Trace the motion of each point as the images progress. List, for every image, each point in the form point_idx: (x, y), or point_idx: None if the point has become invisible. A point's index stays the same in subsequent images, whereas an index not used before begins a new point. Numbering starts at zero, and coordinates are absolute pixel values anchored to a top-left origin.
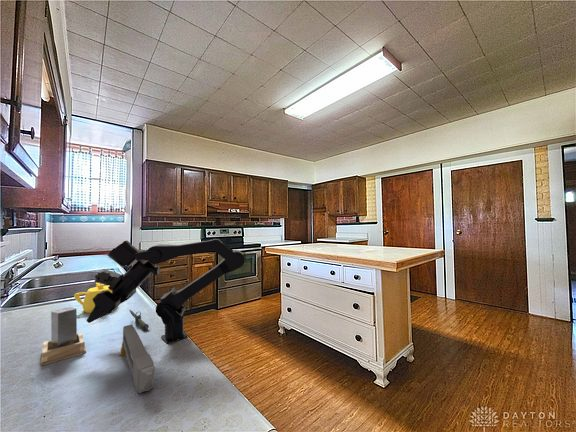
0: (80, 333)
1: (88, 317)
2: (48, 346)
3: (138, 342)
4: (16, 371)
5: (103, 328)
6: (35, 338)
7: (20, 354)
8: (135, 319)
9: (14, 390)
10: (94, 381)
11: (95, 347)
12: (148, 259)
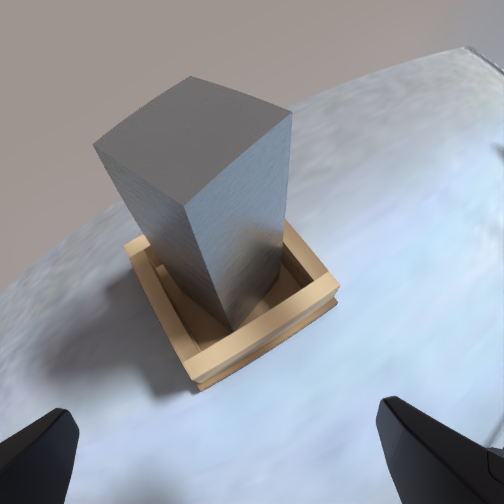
0: (328, 284)
1: (28, 426)
2: None
3: None
4: (127, 216)
5: (466, 308)
6: (371, 124)
7: None
8: (498, 453)
9: (24, 287)
10: None
11: (252, 410)
12: None
